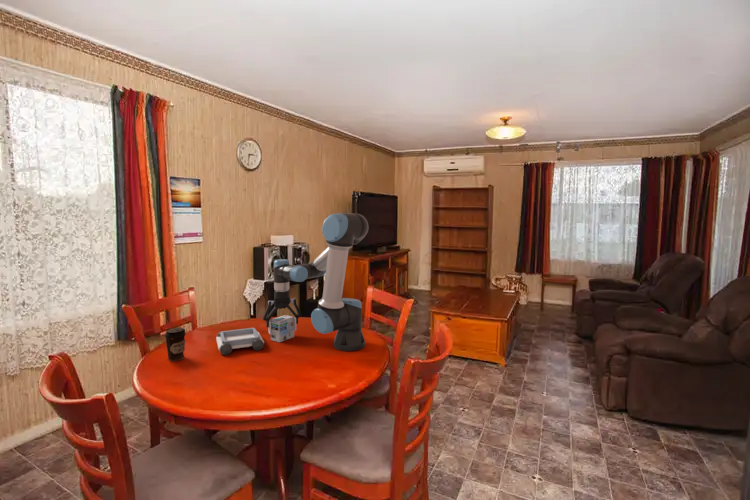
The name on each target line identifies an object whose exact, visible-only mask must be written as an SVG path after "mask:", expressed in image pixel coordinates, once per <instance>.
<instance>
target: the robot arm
mask: <svg viewBox="0 0 750 500" xmlns="http://www.w3.org/2000/svg"><path fill="white" fill-rule="evenodd" d="M321 231H322V234H323V238H324V239H325V244H326V245H327V247H326V248H325V249H323V251H322V252H320V253H319V255H318V256H317V257H315V259H313V261H311V262H310V263H304V264H303V263H302V264H296V265H295V264H294V265H293V264H290V260H289V259H287V258H286V259H285V258H284V259H283V258H282V259H281V258H279V259H275V260H274V261H273V288H274V289H273V290H274V292H273V294H274V295H273V296H274V298H273V300H268V301H267V306H266V308H265V310H264V313H263V315H262V321H263V322H265V323H266V325H265V327H266V328H268V334H269V335H271V321H270V319H273V316H274V315H275V313H276V312H277V310H278V309H279V310H282V309H286V308H287V309H288V310H289V311H290V313H291V314H292V315H293V317H294V332H297V325H298V324H299V318H300V317H303V315H302V312H301V311H300V307H299V306H298V304H297V300H296V298H295V297H294V298H290V297H291V296H290V295H291V292H290V281H292V282H296V283H297V282H298V283H302V282H305V280H308V279H314V278H320V277H323V276H324V282H323V289H322V290H323V291H322V297H321V298H320V299H319V300H318V303H317V308H315V309H313V310H312V312H311V314H310V320H311V324H312V326H313V328H314V330H316V331H317V332H318V333H320V334H324V335H326V334H331V333H333V332H334V331H336V334H335V336H334V339H333V348H335V350H338V351H341V352H342V351H343V352H355V351H359V350H362V349H364V348H365V347H366V340H365V336H364V334H363V329H362V321H363V320H362V317H363V316H362V315H363V313H362V311H363V307H362V306H363V305H362V301H361V300H360V299H356V298H351V297H350V298H349V297H343V294H344V293H343V291H344V285H345V277H346V272H347V271H346V270H347V263H348V256H349V250H350V249H352V248H353V245H358V244H359V243H360V242H361V241H362V240H363V239H364V238H365V237H366V236H367V234H368V233H369V222H368V220H367V218H366V217H365V216H364V215H362V214H360V213H358V212H357V213H356V212H353V213H347V212H346V213H345V212H342V213H341V212H337V213H332V214H329V215H328V216H327V217H326V218H325V219H324V220H323V223H322V229H321ZM290 304H293V307H294V309H295V311H296V312H295V311H294V309H293V308H292V307H291V306H290ZM273 305H274V306H273ZM272 306H273V308H272ZM271 308H272V310H271V311H270V309H271Z"/></svg>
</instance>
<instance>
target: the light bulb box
mask: <svg viewBox="0 0 750 500" xmlns="http://www.w3.org/2000/svg"><path fill="white" fill-rule="evenodd" d="M294 317H295V316H292V315H291V316H290V315H288V314H284V315H281V316H278V317H274V318H271V319H270V321H271V334H270V341H273V342H276V343H283V342H284V341H287V340H290V339H292V338H295V331H294Z"/></svg>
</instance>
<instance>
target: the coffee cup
mask: <svg viewBox="0 0 750 500" xmlns="http://www.w3.org/2000/svg"><path fill="white" fill-rule="evenodd" d="M165 332H166V333H164V338H165V339H164V340H165V344H166V353H167V357H168V358H167V359H168V361H169V360H170V361H169V362H177V361H180V360H183V359H185V353H184V352H185V350H186V349H185V348H186V347H185V346H186V339H185V336H186V329H185V328H183V327H174V328H171V329H168V330H166V331H165Z"/></svg>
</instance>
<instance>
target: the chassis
mask: <svg viewBox="0 0 750 500" xmlns="http://www.w3.org/2000/svg"><path fill="white" fill-rule="evenodd" d="M215 340H216V344H217V349H218V350H217V351H219V352H220V354H221V355H223V356H228V355H230V354H231V353H232V350H234V349H240V348H249V347H252V349H253V350H254V351H258V352H259V351H261V350H262V349H264V346H265V341H264V339H263V337H262V336H261V334H260V332H259V331H257V329H256V328H255V327H248V328H240V329H231V330H223V331H222V330H221V331H219V332H218V333H217V335H216V337H215Z"/></svg>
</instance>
